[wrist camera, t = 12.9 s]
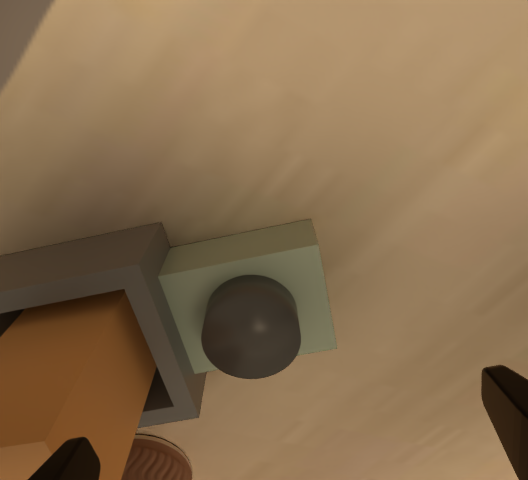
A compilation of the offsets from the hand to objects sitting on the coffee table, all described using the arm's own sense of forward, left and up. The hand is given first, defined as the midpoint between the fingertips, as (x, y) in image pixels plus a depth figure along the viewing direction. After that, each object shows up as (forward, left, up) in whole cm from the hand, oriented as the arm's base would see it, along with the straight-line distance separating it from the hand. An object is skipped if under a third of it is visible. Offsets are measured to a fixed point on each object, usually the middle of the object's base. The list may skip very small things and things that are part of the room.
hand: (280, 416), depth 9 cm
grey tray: (+6, +4, -13) cm, 15 cm away
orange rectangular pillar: (+10, +4, -12) cm, 16 cm away
